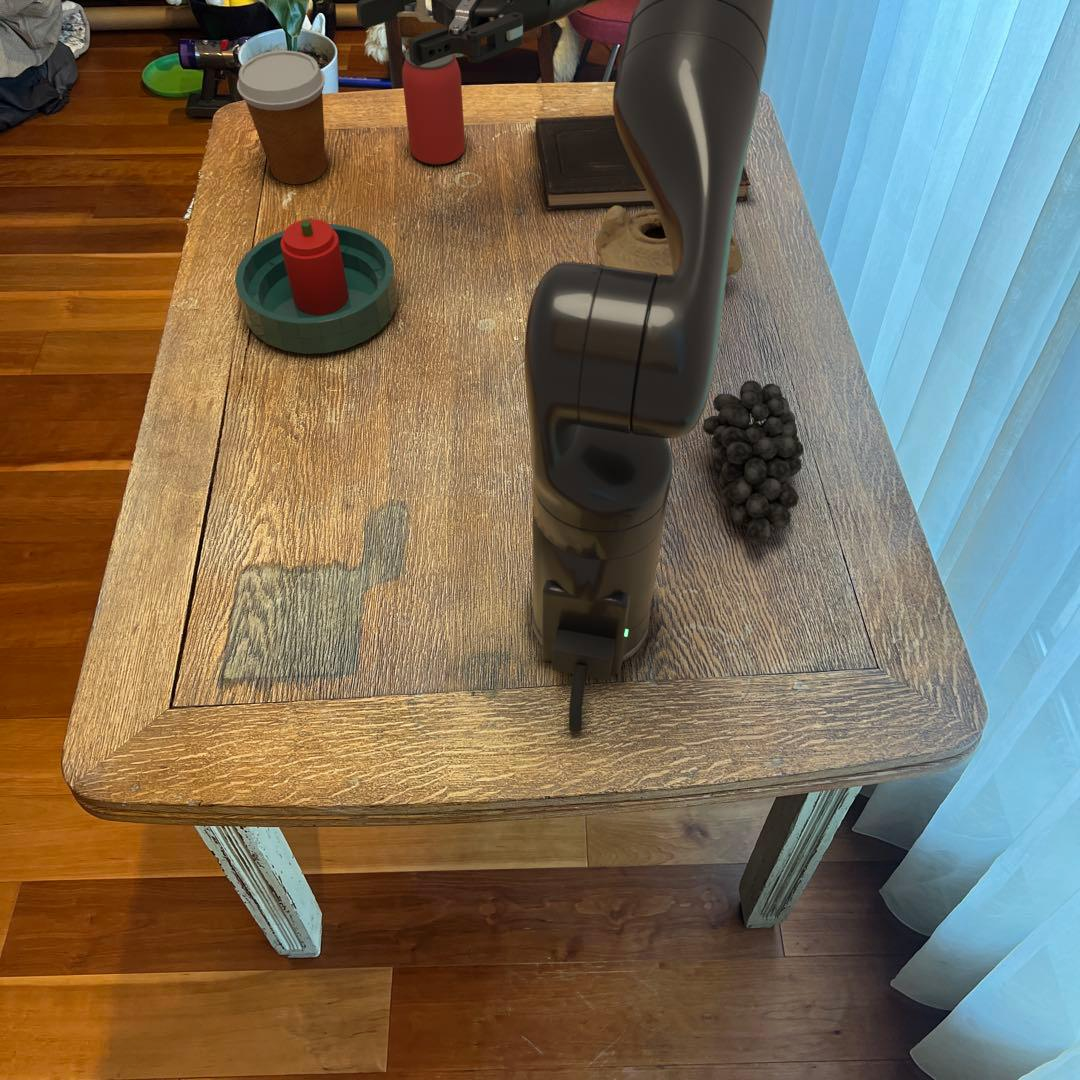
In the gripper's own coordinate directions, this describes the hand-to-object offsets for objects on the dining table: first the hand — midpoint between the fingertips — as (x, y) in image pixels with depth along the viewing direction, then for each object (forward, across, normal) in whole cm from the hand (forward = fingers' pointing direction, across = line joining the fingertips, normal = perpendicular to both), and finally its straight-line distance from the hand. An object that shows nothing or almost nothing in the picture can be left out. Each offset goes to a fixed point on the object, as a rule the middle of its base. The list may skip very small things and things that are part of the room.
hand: (384, 34), depth 90 cm
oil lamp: (-20, +18, +25) cm, 37 cm away
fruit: (-6, +45, +25) cm, 51 cm away
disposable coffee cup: (0, -23, +25) cm, 34 cm away
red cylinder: (+11, -1, +24) cm, 26 cm away
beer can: (-15, -16, +25) cm, 33 cm away
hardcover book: (-32, +1, +25) cm, 40 cm away
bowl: (+11, 0, +25) cm, 27 cm away
